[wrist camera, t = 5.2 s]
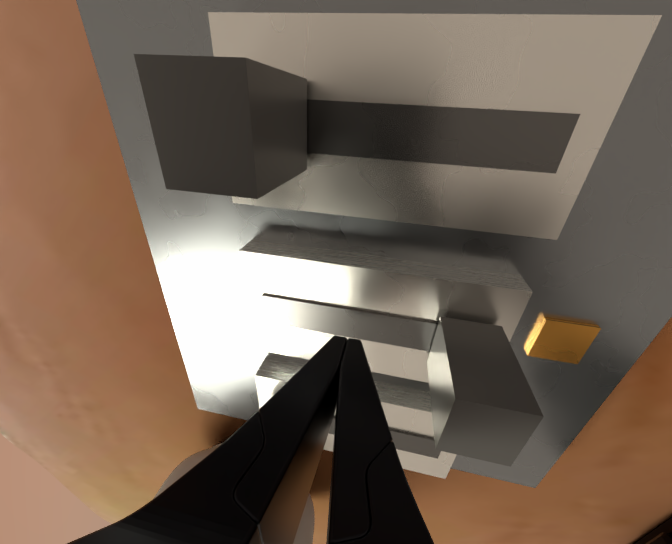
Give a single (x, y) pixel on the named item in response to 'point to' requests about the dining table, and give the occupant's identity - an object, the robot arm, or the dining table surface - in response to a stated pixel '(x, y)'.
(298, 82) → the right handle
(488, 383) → the handle
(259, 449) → the robot arm
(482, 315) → the breaker panel
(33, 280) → the dining table surface
